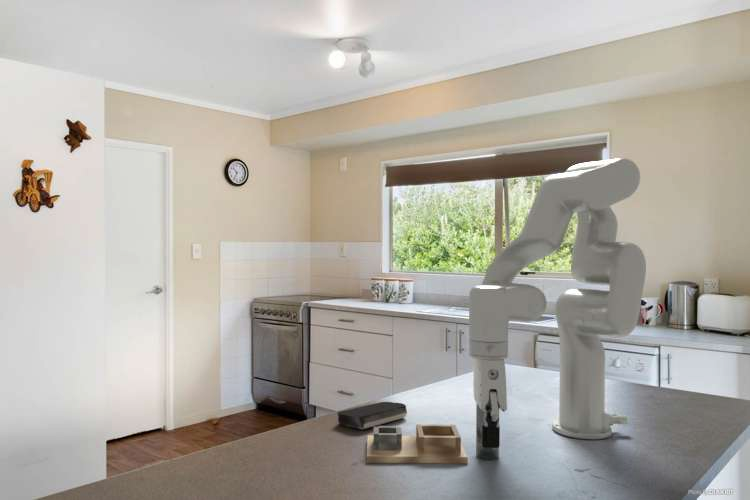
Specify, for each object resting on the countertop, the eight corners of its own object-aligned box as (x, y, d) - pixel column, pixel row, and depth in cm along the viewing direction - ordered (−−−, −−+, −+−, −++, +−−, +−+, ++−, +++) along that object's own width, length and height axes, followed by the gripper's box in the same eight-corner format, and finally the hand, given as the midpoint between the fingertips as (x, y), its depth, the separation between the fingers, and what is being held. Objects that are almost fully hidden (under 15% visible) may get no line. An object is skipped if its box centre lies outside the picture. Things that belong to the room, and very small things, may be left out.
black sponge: (358, 434, 125) (358, 418, 125) (334, 425, 131) (334, 409, 131) (410, 420, 136) (410, 404, 136) (385, 412, 142) (385, 397, 142)
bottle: (496, 452, 114) (496, 391, 114) (501, 460, 110) (501, 397, 110) (474, 451, 114) (474, 391, 114) (478, 460, 110) (478, 397, 110)
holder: (458, 441, 120) (458, 421, 120) (467, 463, 108) (467, 441, 108) (367, 441, 120) (367, 421, 120) (366, 462, 108) (366, 440, 108)
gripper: (518, 357, 103) (517, 457, 103) (498, 341, 121) (497, 427, 121) (476, 357, 103) (475, 457, 103) (462, 341, 121) (461, 427, 121)
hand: (487, 440), depth 112 cm, fingers open, 5 cm apart
